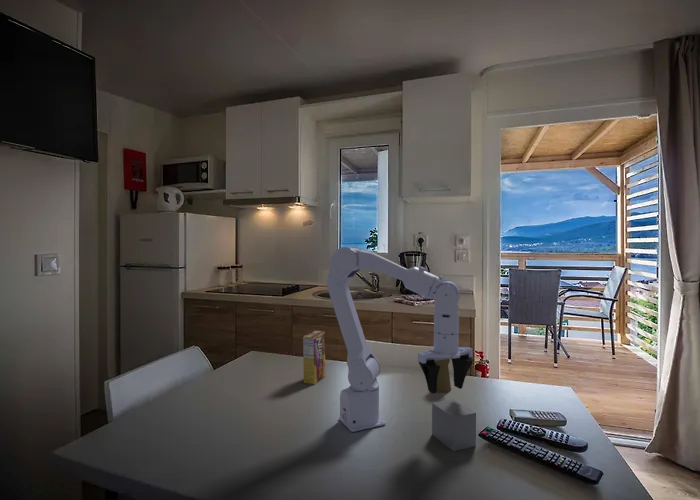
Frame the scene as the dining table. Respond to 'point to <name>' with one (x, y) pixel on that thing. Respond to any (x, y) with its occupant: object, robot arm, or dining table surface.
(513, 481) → the dining table surface
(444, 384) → the cork
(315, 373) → the candy box
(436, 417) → the dark gray square block
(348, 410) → the robot arm
